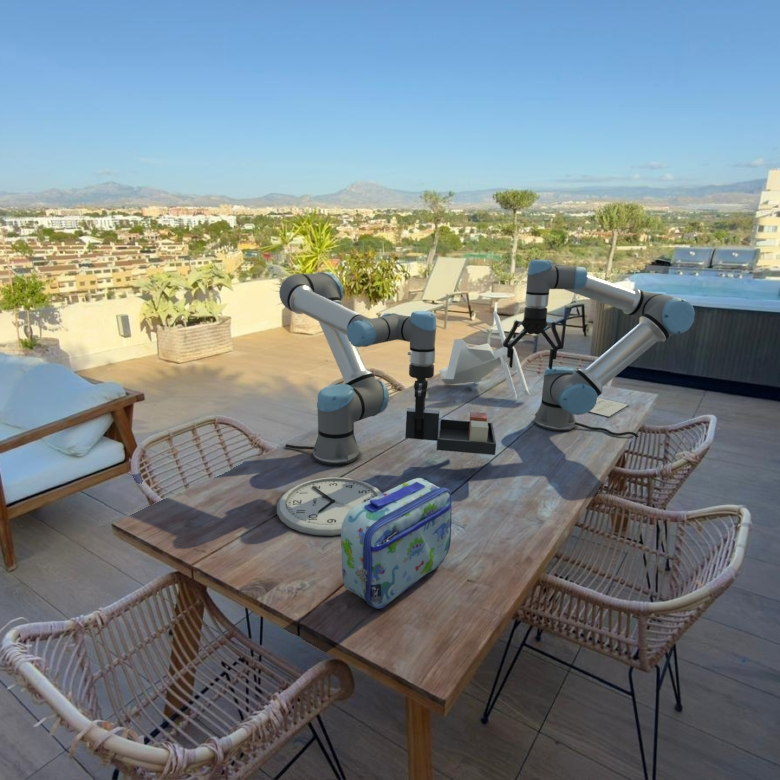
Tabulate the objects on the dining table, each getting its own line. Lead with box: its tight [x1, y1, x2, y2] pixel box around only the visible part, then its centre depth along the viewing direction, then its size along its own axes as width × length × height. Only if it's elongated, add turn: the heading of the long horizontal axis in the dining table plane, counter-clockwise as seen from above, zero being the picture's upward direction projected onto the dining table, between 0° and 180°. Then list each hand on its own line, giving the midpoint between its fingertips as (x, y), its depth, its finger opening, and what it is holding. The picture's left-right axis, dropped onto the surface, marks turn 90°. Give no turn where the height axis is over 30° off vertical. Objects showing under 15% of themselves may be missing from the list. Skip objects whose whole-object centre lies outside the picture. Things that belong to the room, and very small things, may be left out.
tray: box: [404, 407, 497, 456], centre depth 162 cm, size 27×17×9 cm, turn 83°
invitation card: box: [588, 397, 629, 418], centre depth 226 cm, size 21×1×15 cm
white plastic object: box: [438, 310, 531, 400], centre depth 245 cm, size 37×45×31 cm
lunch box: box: [340, 477, 452, 610], centre depth 110 cm, size 26×11×21 cm, turn 134°
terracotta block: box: [468, 411, 488, 435], centre depth 165 cm, size 5×5×7 cm
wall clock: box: [276, 476, 383, 537], centre depth 142 cm, size 30×2×30 cm
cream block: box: [469, 421, 489, 442], centre depth 157 cm, size 5×5×7 cm
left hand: (419, 435), depth 164 cm, fingers closed on tray, 3 cm apart
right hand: (530, 367), depth 183 cm, fingers open, 13 cm apart
